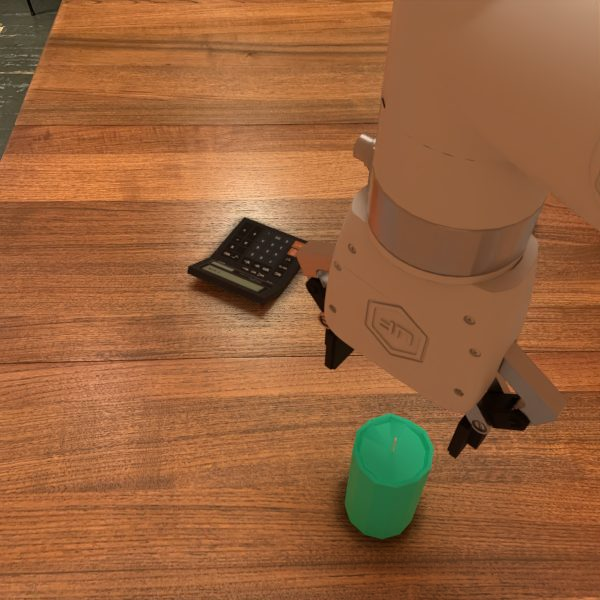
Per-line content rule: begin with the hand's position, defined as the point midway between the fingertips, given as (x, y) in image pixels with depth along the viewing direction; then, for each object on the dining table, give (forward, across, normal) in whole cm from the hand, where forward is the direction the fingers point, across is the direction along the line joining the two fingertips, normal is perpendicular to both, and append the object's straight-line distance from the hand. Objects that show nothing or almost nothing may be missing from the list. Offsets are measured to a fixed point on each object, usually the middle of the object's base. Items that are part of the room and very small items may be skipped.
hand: (400, 395), depth 43 cm
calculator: (+18, -26, +13) cm, 35 cm away
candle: (+18, +1, 0) cm, 18 cm away
